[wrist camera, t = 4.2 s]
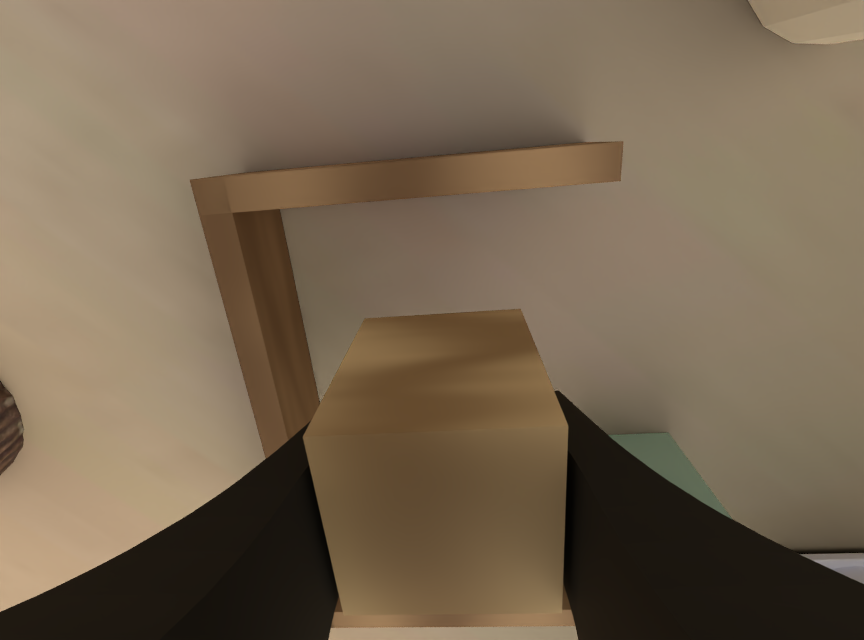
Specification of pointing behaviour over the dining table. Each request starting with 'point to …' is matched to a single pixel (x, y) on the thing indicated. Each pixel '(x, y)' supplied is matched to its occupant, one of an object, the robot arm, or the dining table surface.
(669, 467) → the teal block
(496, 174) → the corral
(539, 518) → the oak block
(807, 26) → the white cylinder
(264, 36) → the dining table surface
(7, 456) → the cupcake
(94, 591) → the robot arm
